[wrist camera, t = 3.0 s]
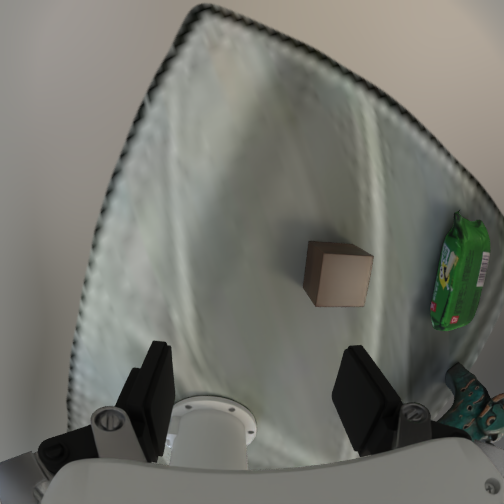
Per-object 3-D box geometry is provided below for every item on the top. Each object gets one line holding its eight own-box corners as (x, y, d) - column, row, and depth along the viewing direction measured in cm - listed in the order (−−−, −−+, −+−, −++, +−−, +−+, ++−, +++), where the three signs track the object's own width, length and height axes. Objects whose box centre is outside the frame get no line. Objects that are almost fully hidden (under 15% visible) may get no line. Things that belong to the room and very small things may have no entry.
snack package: (473, 213, 29) (499, 219, 24) (452, 321, 33) (473, 336, 28) (438, 208, 29) (466, 214, 24) (418, 326, 32) (439, 345, 27)
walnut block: (302, 287, 30) (315, 307, 25) (308, 240, 28) (323, 252, 24) (345, 288, 30) (364, 306, 25) (352, 243, 29) (374, 255, 24)
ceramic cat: (465, 351, 35) (537, 417, 16) (465, 374, 37) (526, 437, 17) (367, 417, 36) (417, 514, 17) (374, 435, 38) (418, 521, 18)
